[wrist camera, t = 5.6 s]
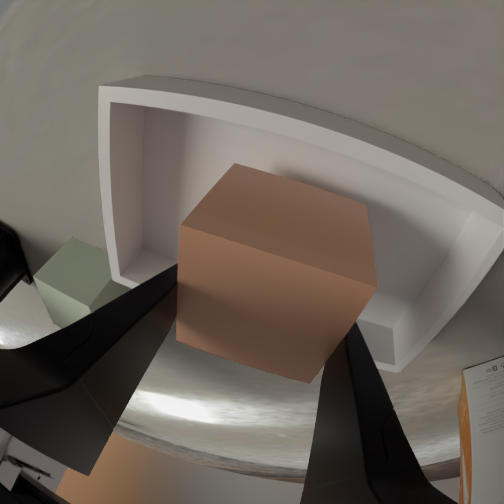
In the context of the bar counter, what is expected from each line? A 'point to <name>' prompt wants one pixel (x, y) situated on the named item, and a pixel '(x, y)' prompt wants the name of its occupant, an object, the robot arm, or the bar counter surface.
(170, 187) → the tote
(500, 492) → the small box
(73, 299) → the pale green block
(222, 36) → the bar counter surface
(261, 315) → the brick
